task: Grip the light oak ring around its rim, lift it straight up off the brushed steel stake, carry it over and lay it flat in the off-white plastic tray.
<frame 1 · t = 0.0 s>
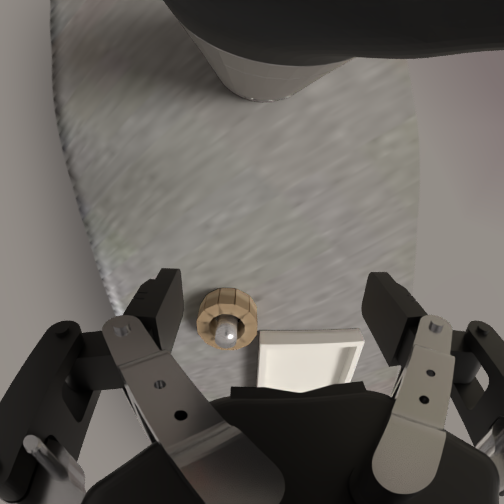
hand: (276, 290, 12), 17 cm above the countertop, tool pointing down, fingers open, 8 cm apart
oak ring: (228, 311, 33), on the countertop
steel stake: (228, 311, 33), on the countertop
white tray: (304, 365, 37), on the countertop
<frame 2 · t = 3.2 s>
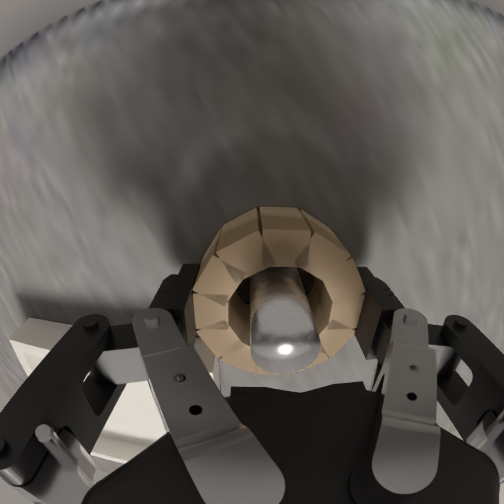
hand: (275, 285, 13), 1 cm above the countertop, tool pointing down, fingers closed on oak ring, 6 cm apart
oak ring: (274, 276, 13), on the countertop, touching gripper
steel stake: (274, 276, 13), on the countertop
white tray: (131, 400, 17), on the countertop
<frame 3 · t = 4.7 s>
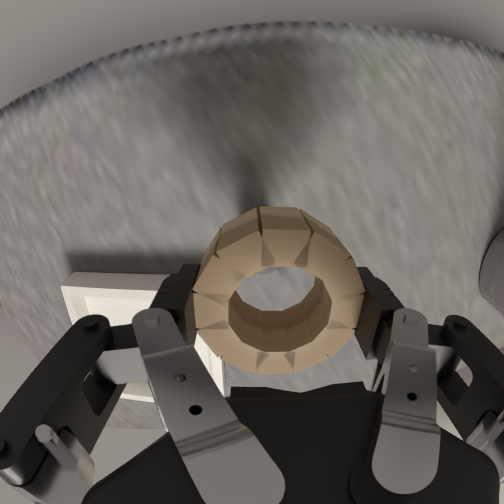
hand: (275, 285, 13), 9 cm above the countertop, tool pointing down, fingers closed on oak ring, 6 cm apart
oak ring: (274, 276, 13), point 8 cm above the countertop, touching gripper
white tray: (152, 337, 24), on the countertop
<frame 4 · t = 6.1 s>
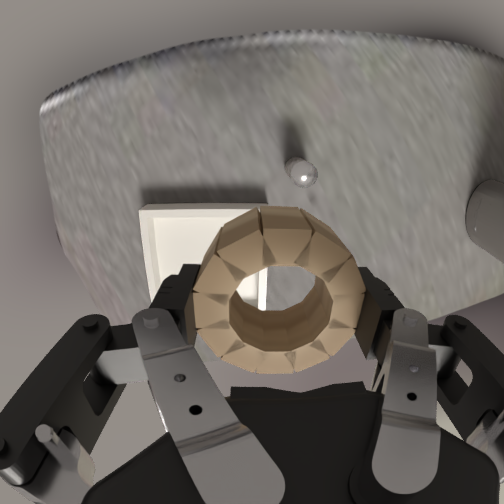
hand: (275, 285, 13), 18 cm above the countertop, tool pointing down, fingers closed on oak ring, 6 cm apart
oak ring: (274, 275, 13), point 17 cm above the countertop, touching gripper
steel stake: (296, 167, 28), on the countertop
white tray: (207, 259, 32), on the countertop
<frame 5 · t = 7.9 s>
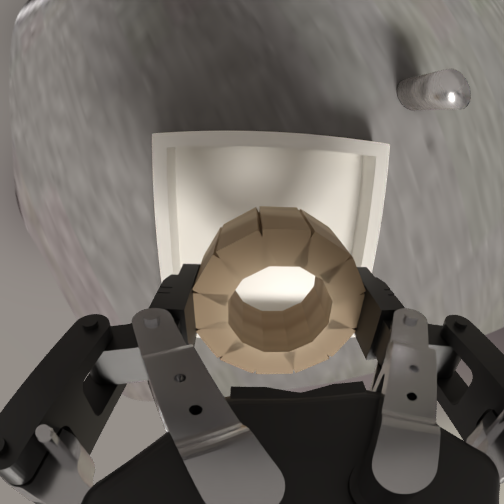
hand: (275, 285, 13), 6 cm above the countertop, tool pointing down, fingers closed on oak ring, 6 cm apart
oak ring: (274, 276, 13), point 6 cm above the countertop, touching gripper
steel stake: (411, 94, 15), on the countertop
white tray: (267, 234, 19), on the countertop
when the fingers open (3 cm above the countertop, at t = 9.2 s): oak ring drops 1 cm, resting on white tray.
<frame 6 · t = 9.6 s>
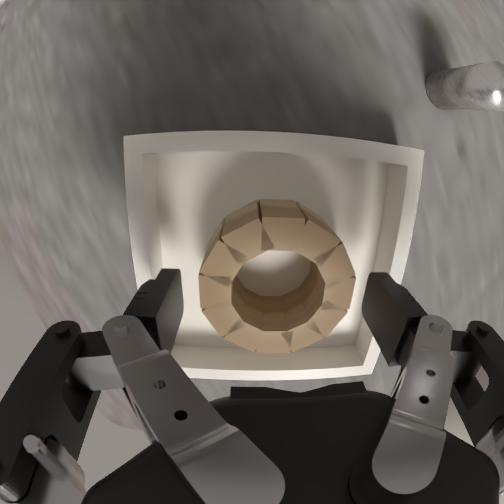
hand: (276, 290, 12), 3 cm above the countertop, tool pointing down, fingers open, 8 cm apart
oak ring: (272, 263, 15), point 1 cm above the countertop, touching white tray
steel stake: (441, 90, 12), on the countertop
white tray: (270, 258, 15), on the countertop
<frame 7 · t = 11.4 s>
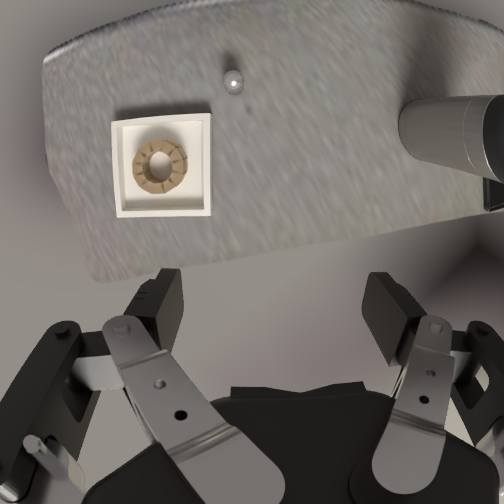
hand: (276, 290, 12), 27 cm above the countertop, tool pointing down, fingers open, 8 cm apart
oak ring: (163, 165, 35), point 1 cm above the countertop, touching white tray
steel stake: (234, 86, 32), on the countertop
phone: (493, 167, 37), on the countertop
white tray: (164, 164, 36), on the countertop
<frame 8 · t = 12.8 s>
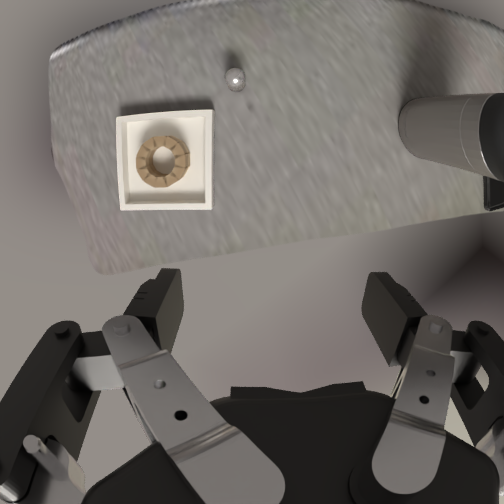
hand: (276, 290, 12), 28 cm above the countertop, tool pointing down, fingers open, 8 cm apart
oak ring: (166, 159, 36), point 1 cm above the countertop, touching white tray
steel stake: (236, 83, 33), on the countertop
phone: (494, 167, 37), on the countertop
white tray: (167, 159, 37), on the countertop
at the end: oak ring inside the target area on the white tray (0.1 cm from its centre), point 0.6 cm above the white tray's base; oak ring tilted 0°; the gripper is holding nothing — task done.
